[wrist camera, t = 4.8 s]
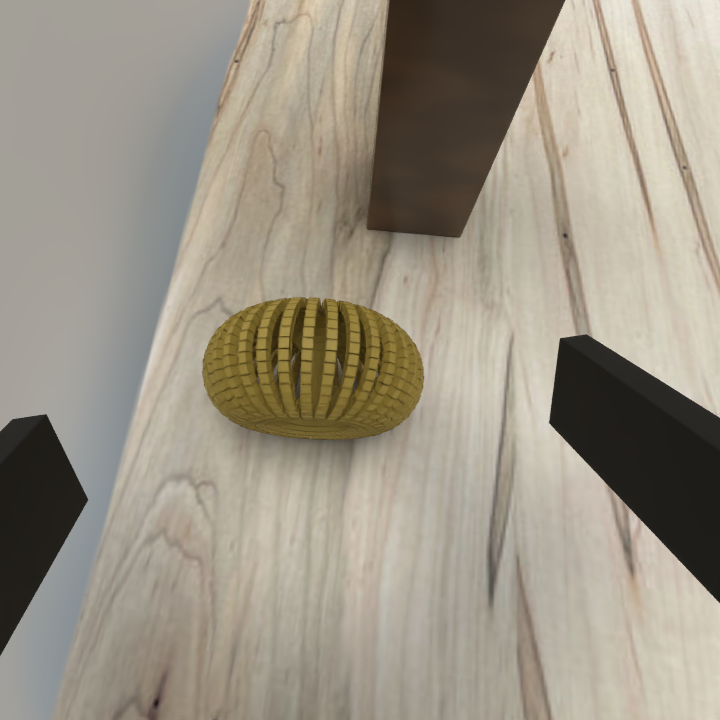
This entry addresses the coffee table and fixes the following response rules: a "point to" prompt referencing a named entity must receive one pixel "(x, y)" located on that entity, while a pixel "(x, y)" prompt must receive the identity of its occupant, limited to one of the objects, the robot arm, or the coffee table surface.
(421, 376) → the sculpture
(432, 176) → the stand post
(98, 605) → the coffee table surface
